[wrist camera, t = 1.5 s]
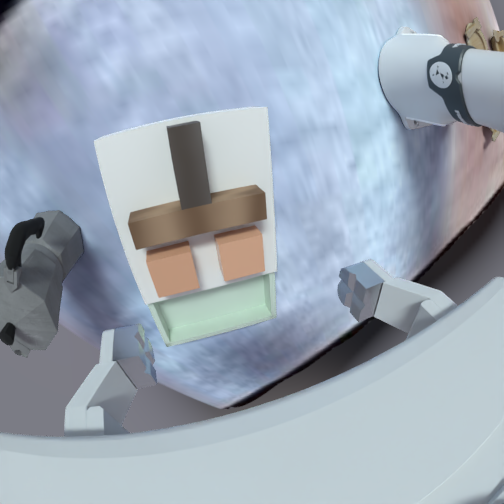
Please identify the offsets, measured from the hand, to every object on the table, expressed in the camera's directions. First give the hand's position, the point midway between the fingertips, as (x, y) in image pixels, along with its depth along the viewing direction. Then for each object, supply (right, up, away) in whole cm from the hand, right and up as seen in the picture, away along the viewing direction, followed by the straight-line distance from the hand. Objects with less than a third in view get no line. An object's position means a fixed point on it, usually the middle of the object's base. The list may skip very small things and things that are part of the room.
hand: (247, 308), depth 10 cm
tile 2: (-9, +1, +21) cm, 23 cm away
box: (-6, -5, +31) cm, 32 cm away
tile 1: (-2, +3, +23) cm, 23 cm away
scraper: (-6, +10, +17) cm, 20 cm away
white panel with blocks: (-7, +8, +23) cm, 25 cm away
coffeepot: (-25, +5, +19) cm, 32 cm away
